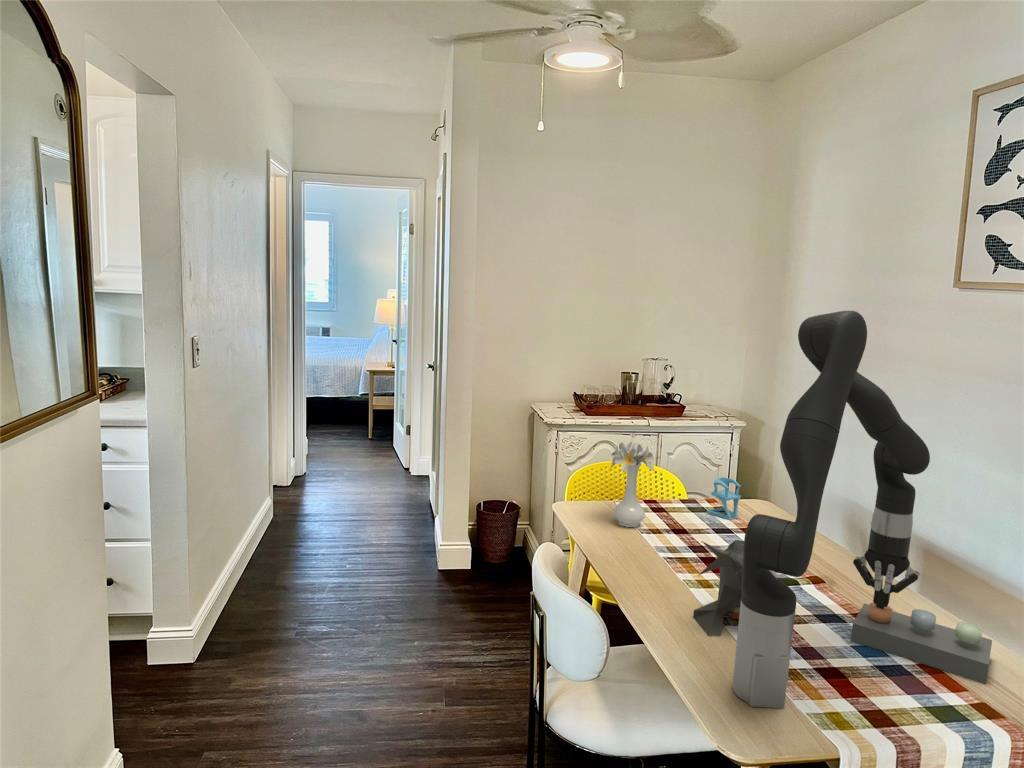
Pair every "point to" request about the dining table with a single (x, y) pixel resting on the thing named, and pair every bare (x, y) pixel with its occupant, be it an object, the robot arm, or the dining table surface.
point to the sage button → (968, 633)
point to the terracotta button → (879, 613)
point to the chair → (725, 498)
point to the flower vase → (631, 482)
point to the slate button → (923, 619)
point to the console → (923, 644)
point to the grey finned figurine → (723, 589)
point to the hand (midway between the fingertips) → (880, 606)
